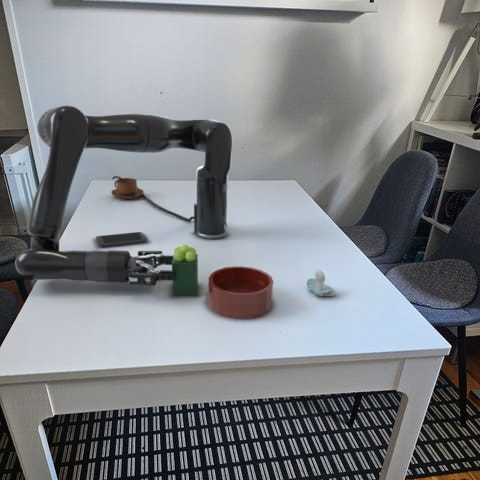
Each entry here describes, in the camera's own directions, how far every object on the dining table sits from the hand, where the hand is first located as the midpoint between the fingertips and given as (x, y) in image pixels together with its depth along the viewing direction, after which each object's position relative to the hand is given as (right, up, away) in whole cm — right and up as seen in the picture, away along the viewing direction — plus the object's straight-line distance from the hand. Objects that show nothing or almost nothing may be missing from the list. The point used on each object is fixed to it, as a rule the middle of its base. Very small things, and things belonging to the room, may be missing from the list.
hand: (178, 267), depth 108 cm
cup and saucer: (-28, +35, +68) cm, 82 cm away
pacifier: (+35, -6, +5) cm, 35 cm away
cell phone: (-21, +12, +28) cm, 37 cm away
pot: (+15, -8, -1) cm, 17 cm away
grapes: (+1, -5, +3) cm, 6 cm away
